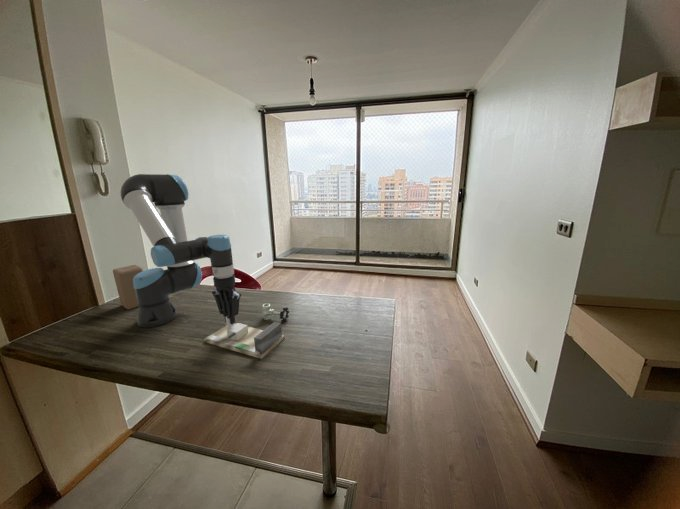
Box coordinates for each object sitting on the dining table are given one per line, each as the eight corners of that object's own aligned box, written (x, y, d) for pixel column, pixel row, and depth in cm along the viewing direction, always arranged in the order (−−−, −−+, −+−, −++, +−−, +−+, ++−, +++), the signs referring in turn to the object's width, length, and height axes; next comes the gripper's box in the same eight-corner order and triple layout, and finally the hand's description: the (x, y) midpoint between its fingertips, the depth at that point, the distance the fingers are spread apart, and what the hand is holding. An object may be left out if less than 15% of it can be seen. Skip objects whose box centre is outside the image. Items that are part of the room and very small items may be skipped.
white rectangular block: (222, 341, 101) (221, 333, 100) (238, 330, 109) (237, 322, 108) (232, 344, 99) (231, 336, 98) (248, 332, 107) (247, 325, 106)
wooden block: (143, 298, 144) (135, 264, 139) (150, 303, 138) (142, 267, 133) (120, 305, 136) (111, 269, 131) (127, 310, 130) (118, 272, 125)
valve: (259, 320, 119) (282, 325, 115) (258, 307, 117) (281, 311, 114) (267, 314, 125) (289, 318, 121) (266, 301, 123) (288, 305, 120)
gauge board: (204, 341, 103) (202, 325, 101) (231, 324, 116) (229, 310, 114) (261, 359, 93) (259, 341, 91) (284, 338, 105) (283, 322, 103)
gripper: (203, 276, 99) (212, 331, 105) (229, 280, 94) (236, 338, 100) (219, 270, 106) (226, 323, 112) (244, 274, 101) (250, 328, 107)
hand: (231, 330), depth 106 cm, fingers closed
